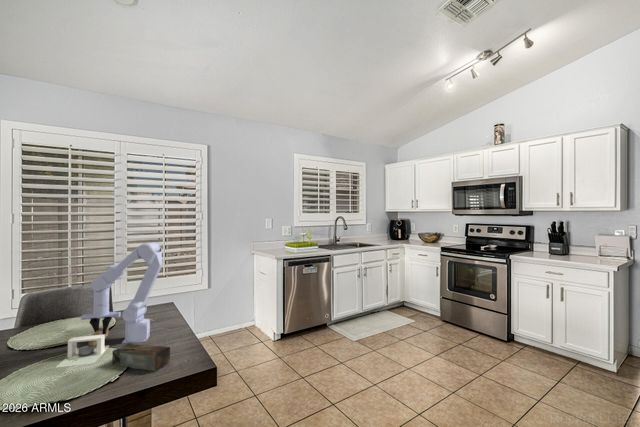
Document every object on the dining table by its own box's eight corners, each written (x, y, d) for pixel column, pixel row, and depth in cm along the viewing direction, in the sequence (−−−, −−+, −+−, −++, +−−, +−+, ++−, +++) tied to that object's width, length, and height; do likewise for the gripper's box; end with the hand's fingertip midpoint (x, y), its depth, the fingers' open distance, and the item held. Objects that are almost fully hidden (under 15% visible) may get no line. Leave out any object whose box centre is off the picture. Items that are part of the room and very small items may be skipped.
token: (96, 350, 127) (96, 344, 127) (91, 355, 122) (91, 349, 122) (81, 351, 125) (81, 345, 125) (76, 357, 120) (76, 351, 121)
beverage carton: (128, 357, 123) (128, 340, 123) (171, 362, 119) (171, 345, 119) (111, 367, 115) (111, 349, 115) (156, 372, 111) (156, 354, 111)
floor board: (109, 346, 132) (110, 345, 132) (94, 364, 116) (94, 363, 116) (76, 349, 128) (76, 348, 129) (55, 369, 112) (55, 367, 112)
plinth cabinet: (104, 351, 127) (104, 334, 127) (100, 355, 123) (101, 338, 123) (72, 354, 124) (72, 337, 124) (67, 359, 120) (67, 341, 120)
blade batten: (108, 334, 144) (108, 324, 144) (94, 348, 129) (94, 337, 129) (102, 335, 143) (103, 325, 143) (88, 348, 128) (88, 337, 128)
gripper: (122, 300, 144) (122, 329, 144) (86, 302, 140) (85, 333, 140) (117, 304, 138) (117, 335, 137) (79, 307, 133) (78, 338, 133)
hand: (100, 334), depth 138 cm, fingers closed on blade batten, 2 cm apart
